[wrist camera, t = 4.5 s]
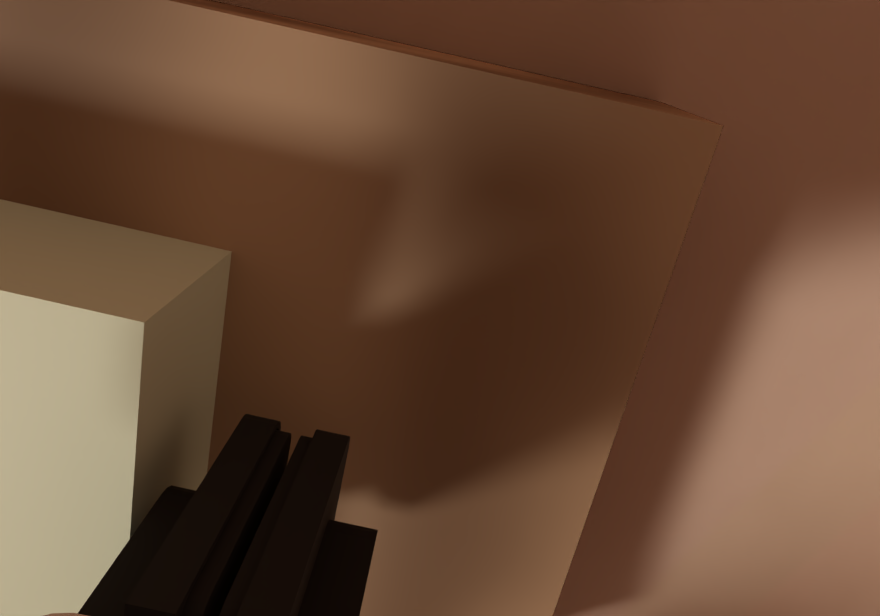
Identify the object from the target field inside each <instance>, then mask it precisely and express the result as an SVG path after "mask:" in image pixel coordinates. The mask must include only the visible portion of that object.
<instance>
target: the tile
mask: <svg viewBox="0 0 880 616" xmlns="http://www.w3.org/2000/svg"><path fill="white" fill-rule="evenodd" d="M231 253H232V251H228V250H223V249H219V248H214V247H210V246H206V245H201V244H197V243H192V242H188V241H184V240H179V239H175V238H170V237H166V236H161V235H157V234H153V233H148V232H144V231H139V230H135V229H130V228H126V227H122V226H117V225H113V224H108V223H104V222H99V221H95V220H90V219H86V218H82V217H77V216H73V215H68V214H64V213H59V212H55V211H51V210H46V209H42V208H37V207H33V206H28V205H24V204H20V203H15V202H11V201H6V200H2V199H0V616H44V615H48V614H52V613H78V612H79V611H80V609H81V608H82V606H83V605H84V603H85V602H86V601H87V599H88V598H89V596H90V595H91V594H92V592H93V591H94V589H95V588H96V586H97V585H98V584H99V582H100V581H101V579H102V578H103V576H104V575H105V574H106V572H107V571H108V569H109V568H110V566H111V565H112V564H113V562H114V561H115V559H116V558H117V556H118V555H119V554H120V552H121V551H122V549H123V548H124V547H125V545H126V544H127V542H128V541H129V539H130V538H131V537H132V535H133V534H134V532H135V531H136V529H137V528H138V527H139V525H140V524H141V522H142V521H143V519H144V518H145V517H146V515H147V514H148V512H149V511H150V509H151V508H152V507H153V505H154V504H155V502H156V501H157V500H158V498H159V497H160V495H161V494H162V493H163V492H164V490H165V489H166V488H167V487H169V486H171V485H172V486H177V487H181V488H186V489H191V490H195V491H196V490H197V489H198V487H199V485H200V484H201V482H202V481H203V479H204V477H205V476H206V474H207V468H208V459H209V450H210V441H211V432H212V423H213V414H214V405H215V396H216V388H217V379H218V370H219V361H220V352H221V343H222V334H223V325H224V316H225V307H226V298H227V289H228V280H229V271H230V262H231Z"/></svg>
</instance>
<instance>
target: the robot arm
mask: <svg viewBox="0 0 880 616" xmlns="http://www.w3.org/2000/svg"><path fill="white" fill-rule="evenodd" d="M290 444H291V433H289V432H284V431H281V422H280V421H277V420H273V419H268V418H264V417H259V416H254V415H250V414H245V415H244V416H243V417H242V419H241V420H240V422H239V424H238V425H237V427H236V428H235V430H234V431H233V433H232V435H231V436H230V438H229V439H228V441H227V443H226V444H225V446H224V447H223V449H222V450H221V452H220V454H219V455H218V457H217V458H216V460H215V462H214V463H213V465H212V466H211V468H210V470H209V471H208V473H207V474H206V476H205V477H204V479H203V481H202V482H201V484H200V485H199V487H198V489H197V490H196V491H195V490H191V489H186V488H181V487H177V486H172V485H171V486H169V487H167V488H166V489H165V490H164V492H163V493H162V494H161V495H160V497H159V498H158V500H157V501H156V502H155V504H154V505H153V507H152V508H151V509H150V511H149V512H148V514H147V515H146V517H145V518H144V519H143V521H142V522H141V524H140V525H139V527H138V528H137V529H136V531H135V532H134V534H133V535H132V537H131V538H130V539H129V541H128V542H127V544H126V545H125V547H124V548H123V549H122V551H121V552H120V554H119V555H118V556H117V558H116V559H115V561H114V562H113V564H112V565H111V566H110V568H109V569H108V571H107V572H106V574H105V575H104V576H103V578H102V579H101V581H100V582H99V584H98V585H97V586H96V588H95V589H94V591H93V592H92V594H91V595H90V596H89V598H88V599H87V601H86V602H85V603H84V605H83V606H82V608H81V609H80V611H79V612H78V613H52V614H48V615H44V616H360V611H361V606H362V602H363V597H364V592H365V588H366V583H367V578H368V574H369V569H370V565H371V560H372V555H373V551H374V546H375V541H376V537H377V532H378V530H376V529H371V528H367V527H362V526H357V525H353V524H348V523H343V522H339V521H334V520H335V515H336V510H337V505H338V500H339V495H340V489H341V484H342V479H343V474H344V469H345V464H346V459H347V454H348V449H349V444H350V436H346V435H341V434H337V433H332V432H328V431H323V430H318V429H317V430H316V431H315V433H314V435H313V438H312V437H307V436H302V435H301V436H300V438H299V440H298V442H297V444H296V447H295V449H294V451H293V453H292V455H291V457H290V460H289V462H288V456H289V450H290ZM287 462H288V464H287Z"/></svg>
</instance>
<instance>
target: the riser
mask: <svg viewBox="0 0 880 616" xmlns="http://www.w3.org/2000/svg"><path fill="white" fill-rule="evenodd" d="M722 129H723V125H720V124H717V123H715V122H712V121H709V120H707V119H704V118H701V117H699V116H696V115H694V114H691V113H688V112H686V111H683V110H680V109H678V108H675V107H672V106H670V105H667V104H664V103H662V102H658V101H654V100H649V99H645V98H640V97H636V96H632V95H627V94H623V93H618V92H614V91H610V90H605V89H601V88H596V87H592V86H587V85H583V84H579V83H574V82H570V81H565V80H561V79H557V78H552V77H548V76H543V75H539V74H534V73H530V72H526V71H521V70H517V69H512V68H508V67H504V66H499V65H495V64H490V63H486V62H481V61H477V60H473V59H468V58H464V57H459V56H455V55H451V54H446V53H442V52H437V51H433V50H428V49H424V48H420V47H415V46H411V45H406V44H402V43H398V42H393V41H389V40H384V39H380V38H375V37H371V36H367V35H362V34H358V33H353V32H349V31H345V30H340V29H336V28H331V27H327V26H322V25H318V24H314V23H309V22H305V21H300V20H296V19H292V18H287V17H283V16H278V15H274V14H269V13H265V12H261V11H256V10H252V9H247V8H243V7H239V6H234V5H230V4H225V3H221V2H216V1H212V0H0V199H2V200H6V201H11V202H15V203H20V204H24V205H28V206H33V207H37V208H42V209H46V210H51V211H55V212H59V213H64V214H68V215H73V216H77V217H82V218H86V219H90V220H95V221H99V222H104V223H108V224H113V225H117V226H122V227H126V228H130V229H135V230H139V231H144V232H148V233H153V234H157V235H161V236H166V237H170V238H175V239H179V240H184V241H188V242H192V243H197V244H201V245H206V246H210V247H214V248H219V249H223V250H228V251H232V253H231V262H230V271H229V280H228V289H227V298H226V307H225V316H224V325H223V334H222V343H221V352H220V361H219V370H218V379H217V388H216V396H215V405H214V414H213V423H212V432H211V441H210V450H209V459H208V468H207V473H208V471H209V470H210V468H211V466H212V465H213V463H214V462H215V460H216V458H217V457H218V455H219V454H220V452H221V450H222V449H223V447H224V446H225V444H226V443H227V441H228V439H229V438H230V436H231V435H232V433H233V431H234V430H235V428H236V427H237V425H238V424H239V422H240V420H241V419H242V417H243V416H244V415H245V414H250V415H254V416H259V417H264V418H268V419H273V420H277V421H280V422H281V431H284V432H289V433H291V444H290V450H289V456H288V462H289V460H290V457H291V455H292V453H293V451H294V449H295V447H296V444H297V442H298V440H299V438H300V436H301V435H302V436H307V437H312V438H313V435H314V433H315V431H316V430H317V429H318V430H323V431H328V432H332V433H337V434H341V435H346V436H350V444H349V449H348V454H347V459H346V464H345V469H344V474H343V479H342V484H341V489H340V495H339V500H338V505H337V510H336V515H335V520H334V521H339V522H343V523H348V524H353V525H357V526H362V527H367V528H371V529H376V530H378V532H377V537H376V541H375V546H374V551H373V555H372V560H371V565H370V569H369V574H368V578H367V583H366V588H365V592H364V597H363V602H362V606H361V611H360V616H553V613H554V610H555V607H556V604H557V602H558V599H559V596H560V593H561V590H562V587H563V584H564V582H565V579H566V576H567V573H568V570H569V567H570V564H571V561H572V559H573V556H574V553H575V550H576V547H577V544H578V541H579V539H580V536H581V533H582V530H583V527H584V524H585V521H586V518H587V516H588V513H589V510H590V507H591V504H592V501H593V498H594V496H595V493H596V490H597V487H598V484H599V481H600V478H601V475H602V473H603V470H604V467H605V464H606V461H607V458H608V455H609V453H610V450H611V447H612V444H613V441H614V438H615V435H616V433H617V430H618V427H619V424H620V421H621V418H622V415H623V412H624V410H625V407H626V404H627V401H628V398H629V395H630V392H631V390H632V387H633V384H634V381H635V378H636V375H637V372H638V369H639V367H640V364H641V361H642V358H643V355H644V352H645V349H646V347H647V344H648V341H649V338H650V335H651V332H652V329H653V326H654V324H655V321H656V318H657V315H658V312H659V309H660V306H661V304H662V301H663V298H664V295H665V292H666V289H667V286H668V284H669V281H670V278H671V275H672V272H673V269H674V266H675V263H676V261H677V258H678V255H679V252H680V249H681V246H682V243H683V241H684V238H685V235H686V232H687V229H688V226H689V223H690V220H691V218H692V215H693V212H694V209H695V206H696V203H697V200H698V198H699V195H700V192H701V189H702V186H703V183H704V180H705V177H706V175H707V172H708V169H709V166H710V163H711V160H712V157H713V155H714V152H715V149H716V146H717V143H718V140H719V137H720V135H721V132H722ZM288 462H287V464H288Z"/></svg>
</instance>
